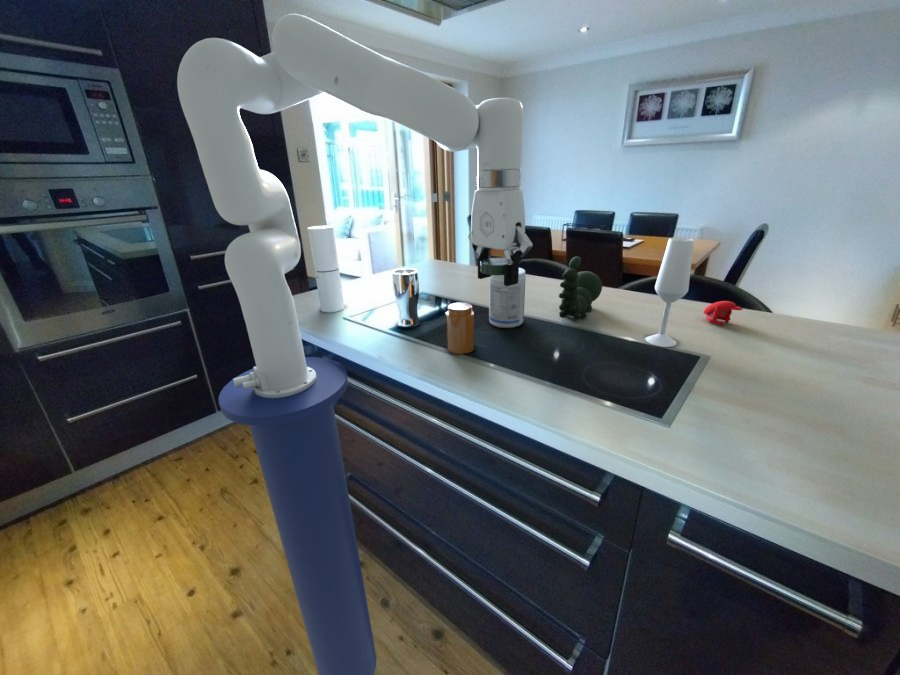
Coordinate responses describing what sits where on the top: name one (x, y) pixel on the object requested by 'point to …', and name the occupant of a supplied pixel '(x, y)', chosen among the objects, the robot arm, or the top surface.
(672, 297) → the champagne flute
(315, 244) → the cylindrical container
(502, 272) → the lid
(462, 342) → the jar
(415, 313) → the beer glass
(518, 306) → the supplement tub
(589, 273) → the toy figurine
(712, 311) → the red animal figurine
